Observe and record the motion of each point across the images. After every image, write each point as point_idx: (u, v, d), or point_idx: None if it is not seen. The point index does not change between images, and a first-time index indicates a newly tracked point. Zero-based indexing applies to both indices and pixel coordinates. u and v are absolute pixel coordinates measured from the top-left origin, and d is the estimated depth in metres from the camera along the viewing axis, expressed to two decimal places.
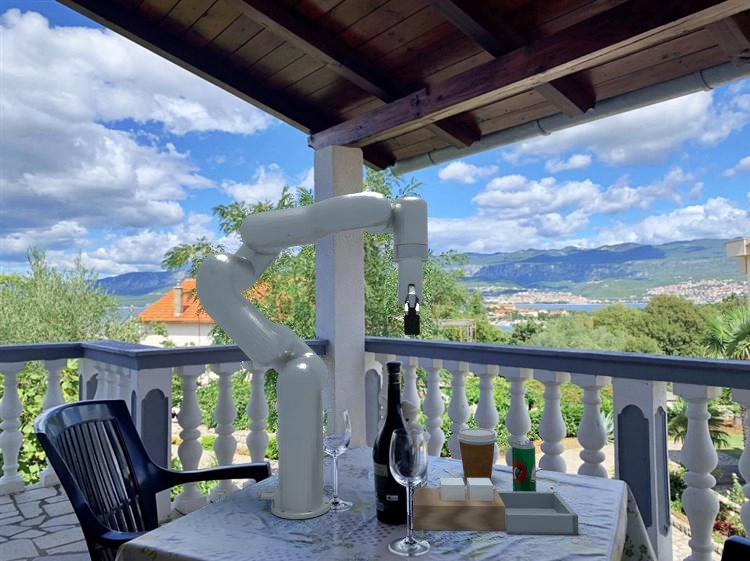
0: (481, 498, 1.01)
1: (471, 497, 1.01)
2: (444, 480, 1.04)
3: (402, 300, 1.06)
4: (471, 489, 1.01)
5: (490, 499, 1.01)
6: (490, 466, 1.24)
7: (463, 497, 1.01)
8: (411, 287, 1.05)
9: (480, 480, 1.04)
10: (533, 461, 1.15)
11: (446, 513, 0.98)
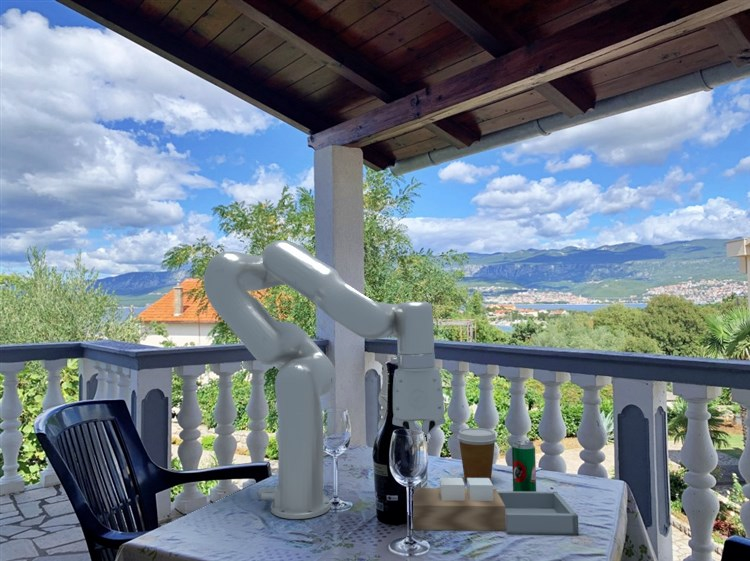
0: (481, 498, 1.01)
1: (471, 497, 1.01)
2: (444, 480, 1.04)
3: (443, 413, 1.02)
4: (471, 489, 1.01)
5: (490, 499, 1.01)
6: (490, 466, 1.24)
7: (463, 497, 1.01)
8: None
9: (480, 480, 1.04)
10: (533, 461, 1.15)
11: (446, 513, 0.98)
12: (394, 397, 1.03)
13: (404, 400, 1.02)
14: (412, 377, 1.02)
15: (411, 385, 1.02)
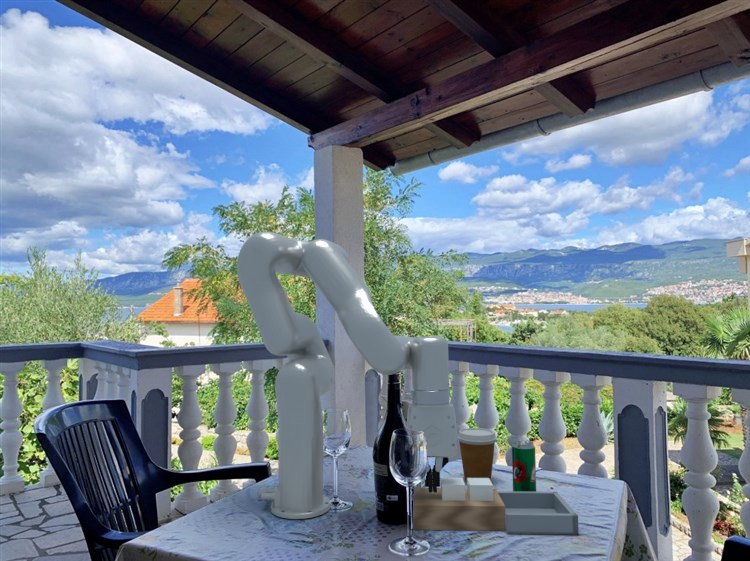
0: (481, 498, 1.01)
1: (471, 497, 1.01)
2: (445, 480, 1.04)
3: (457, 450, 1.02)
4: (471, 489, 1.01)
5: (490, 499, 1.01)
6: (490, 466, 1.24)
7: (464, 497, 1.01)
8: None
9: (480, 480, 1.04)
10: (533, 461, 1.15)
11: (446, 513, 0.98)
12: None
13: None
14: (426, 414, 1.02)
15: (425, 422, 1.02)
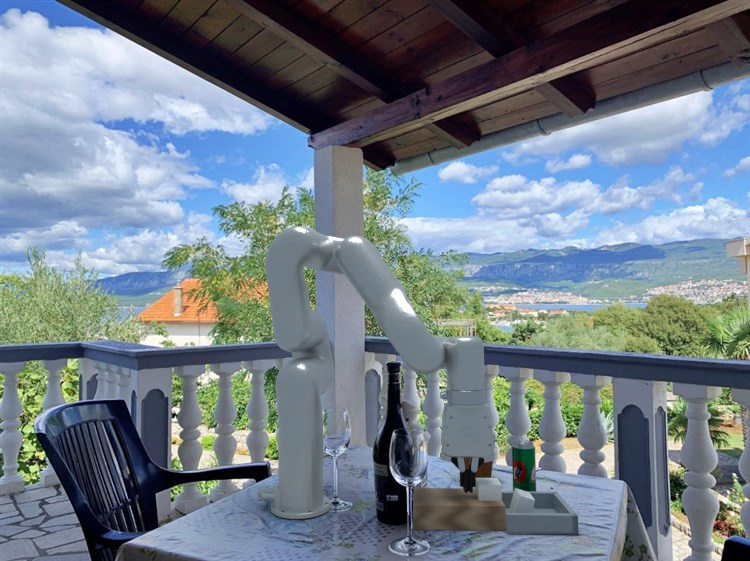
0: (519, 507, 1.00)
1: (522, 497, 1.00)
2: (480, 480, 1.04)
3: (493, 450, 1.01)
4: (530, 500, 1.00)
5: None
6: (490, 466, 1.24)
7: (500, 497, 1.01)
8: None
9: None
10: (533, 461, 1.15)
11: (446, 513, 0.98)
12: (444, 433, 1.02)
13: (454, 436, 1.01)
14: (462, 414, 1.01)
15: (461, 422, 1.01)
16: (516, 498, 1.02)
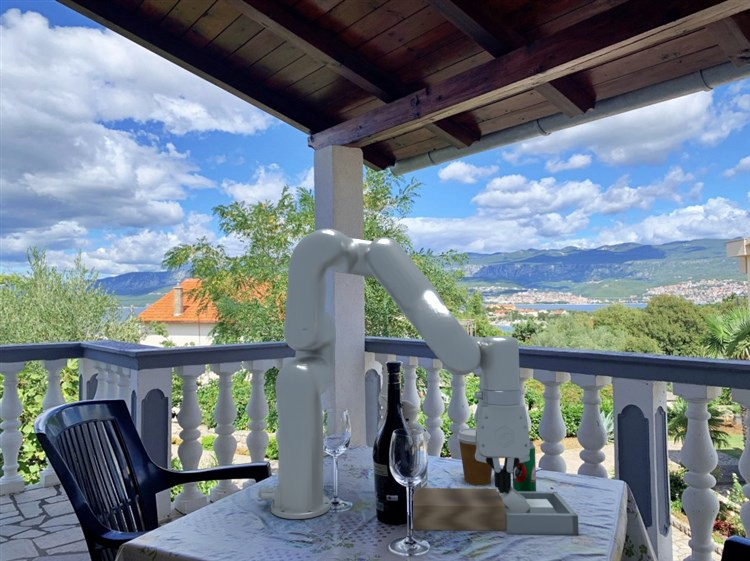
0: (541, 509, 1.00)
1: (552, 510, 1.00)
2: (513, 489, 1.03)
3: None
4: None
5: (532, 508, 1.00)
6: (490, 466, 1.24)
7: None
8: None
9: None
10: (533, 461, 1.15)
11: (446, 513, 0.98)
12: (479, 433, 1.01)
13: (490, 437, 1.01)
14: (498, 414, 1.01)
15: (497, 422, 1.01)
16: (544, 504, 1.02)
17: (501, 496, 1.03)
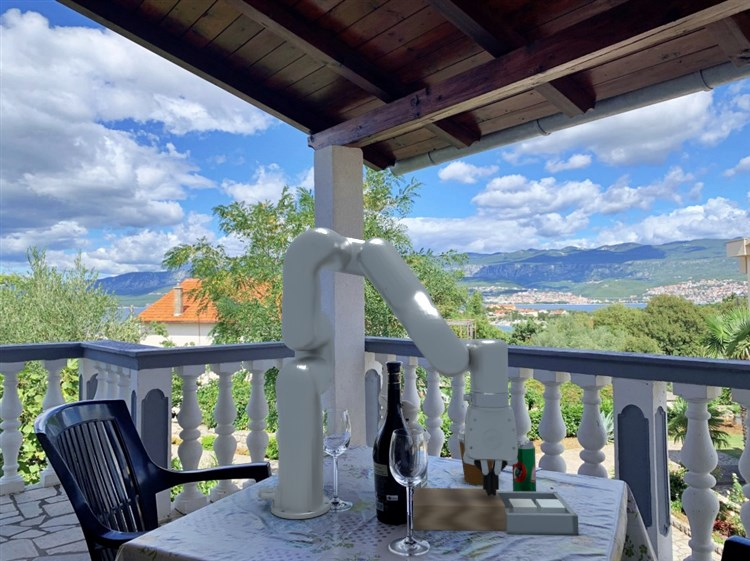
0: (553, 509, 1.00)
1: (563, 510, 1.00)
2: (515, 502, 1.03)
3: None
4: None
5: (544, 508, 1.00)
6: (490, 466, 1.24)
7: None
8: None
9: None
10: (533, 461, 1.15)
11: (446, 513, 0.98)
12: (467, 435, 1.02)
13: (478, 439, 1.01)
14: (486, 416, 1.01)
15: (485, 424, 1.01)
16: (556, 504, 1.02)
17: None
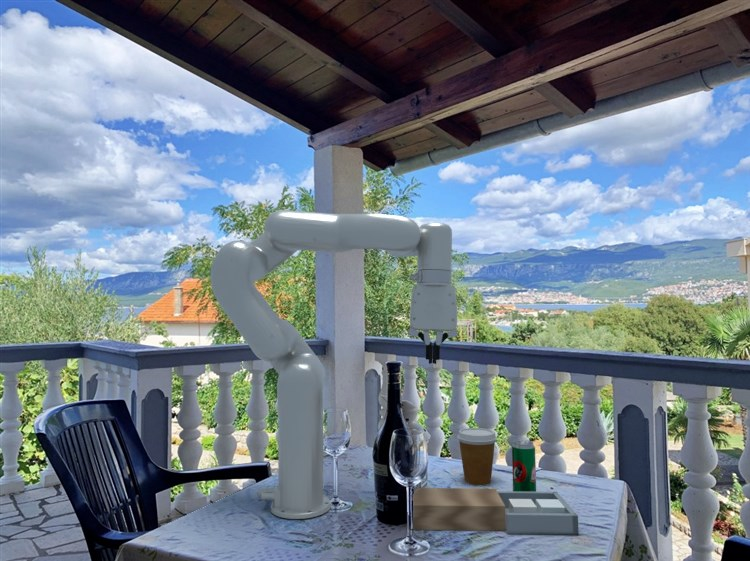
0: (553, 509, 1.00)
1: (563, 510, 1.00)
2: (515, 502, 1.03)
3: (456, 325, 1.11)
4: None
5: (544, 508, 1.00)
6: (490, 466, 1.24)
7: None
8: None
9: None
10: (533, 461, 1.15)
11: (446, 513, 0.98)
12: (411, 308, 1.12)
13: (421, 311, 1.11)
14: (429, 291, 1.11)
15: (428, 298, 1.11)
16: (556, 504, 1.02)
17: None
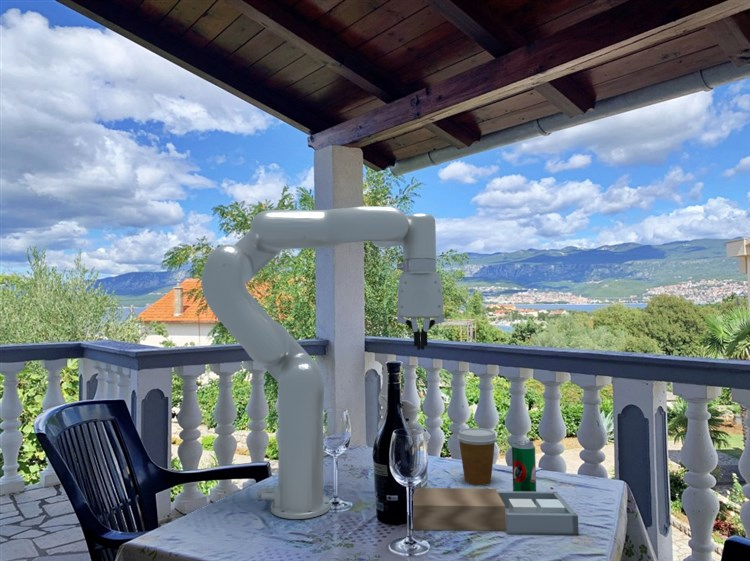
0: (553, 509, 1.00)
1: (563, 510, 1.00)
2: (515, 502, 1.03)
3: None
4: None
5: (544, 508, 1.00)
6: (490, 466, 1.24)
7: None
8: None
9: None
10: (533, 461, 1.15)
11: (446, 513, 0.98)
12: (399, 297, 1.15)
13: (408, 299, 1.14)
14: (415, 279, 1.15)
15: (414, 286, 1.15)
16: (556, 504, 1.02)
17: None
